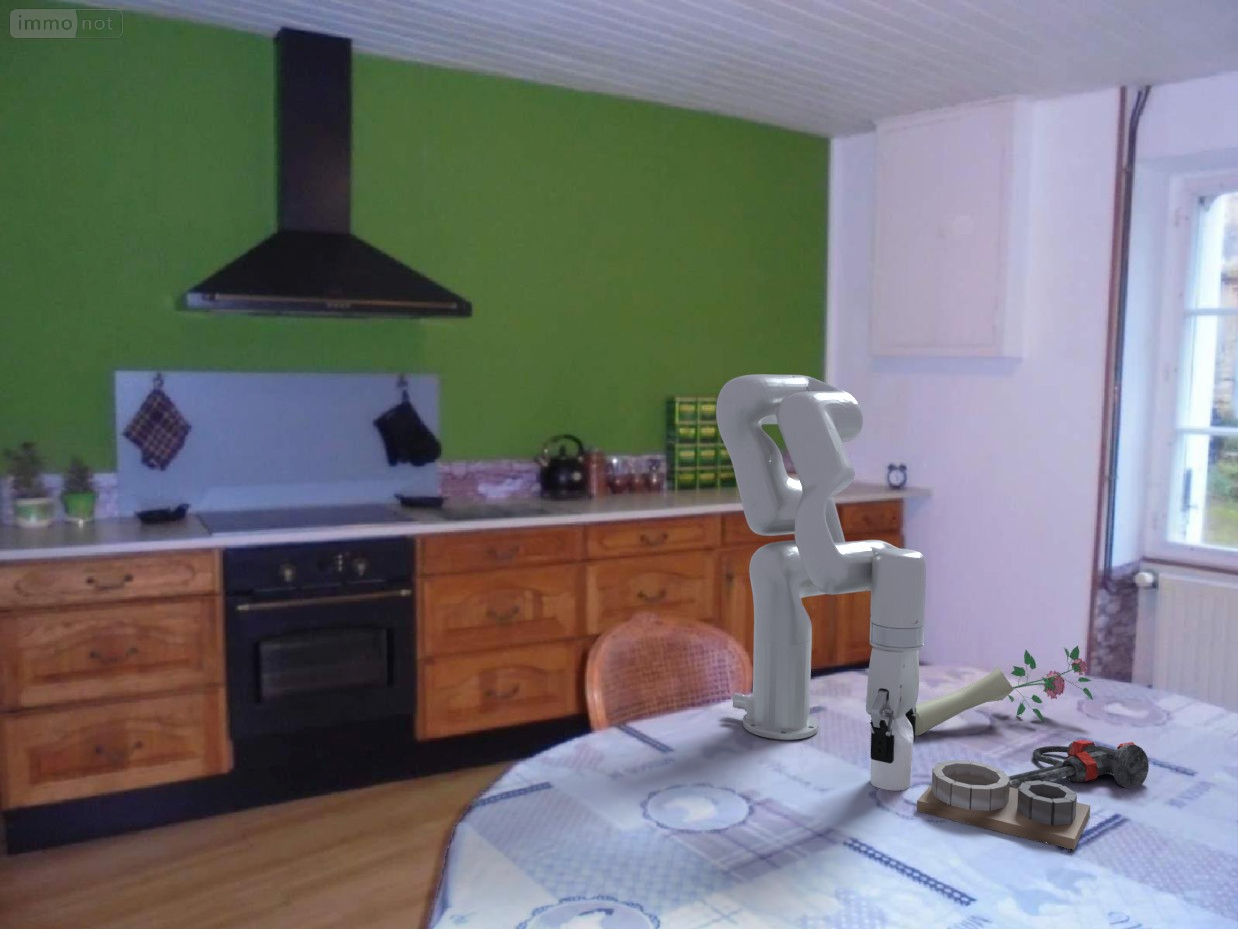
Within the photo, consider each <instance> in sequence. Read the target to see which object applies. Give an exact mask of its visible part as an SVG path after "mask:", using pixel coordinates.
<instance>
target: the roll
mask: <svg viewBox="0 0 1238 929" xmlns="http://www.w3.org/2000/svg"><path fill="white" fill-rule="evenodd" d="M883 712H886V713H892V712H888V711H883ZM882 720H885V723H886V725H888V721H889V720H887V719H882ZM892 735H894V761H893V762H892V763H885V762H881V761H876V760H872V759H871V758H870V778H869V781H870V785H872V786H873V787H875V788H876V789H877V788H878V789H881V790H886V791H897V792H900V790H901V791H904V790H907V789H909V788H911V784H912V782H911V781H912V780H911V779H912V776H911V775H912V762H913V749H914V742H913V739H914V738H913V728H912V725H911V723H910V721H909V720H908V719H907V717H906V715H905V714H904V715H903V716H902V717H900V718H899V719H896V720H895V723H894V727H893V731H892Z"/></svg>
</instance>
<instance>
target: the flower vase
mask: <svg viewBox="0 0 1238 929" xmlns="http://www.w3.org/2000/svg"><path fill="white" fill-rule="evenodd" d="M1063 650H1064V652H1065V655H1066V662H1067V664H1068V667H1067V670H1066V671H1063V672H1061V673H1060V672H1059V671H1056V670H1053V671H1052V670H1050V671H1049V673H1047V674H1046V677H1043V676H1042V677H1041V679H1036V680H1032V681H1029V682H1028V679H1029V676H1030V673H1031V671H1032V670H1034V669H1036V668H1037V664H1036V660H1035V658H1034V657H1033V656H1032V655H1031V654H1030V653H1029V651H1028V650H1027V649H1025V650H1024V655H1023V656H1024V657H1023V658H1024V659H1023V661H1024V662H1023V663H1024V664H1025V665H1026V667H1025V668H1024V667H1020V666H1014V665H1012V666H1013V667H1012V668H1013V669H1014V670H1013V671H1011V672H1010V675H1012V676H1016V677H1019V679H1018V682H1017V685H1015V686H1012V685H1011V683H1010V682H1009V680H1008V679H1007V677H1006V676H1005V674H1004V673H1003V671H1002V669H1001V668H1000V667H999V666H998V667H997V668H995V669H994V670H993V671H992V672H990V673H989V674H987V675H985V676H984V677H982V678H980V679H979V680H977V681H975V682H973V683H970V684H969V685H967V686H965V687H962V688H961V689H958V690H956V691H953V692H951V693H947V694H945V695H941V696H939V697H938V696H937V697H935V698H934V697H933V698H931V699H928V700H926V701H923V702H919V703H916V704H915V706H916V714H915V715H913V716H916V726H915V736H921V735H922V734H924V733H927V731H929V730H931V729H933V728H935V727H937V726H938V725H940V724H942V723H944V722H947V721H948V720H950V719H952V718H954V717H956V716H958V715H959V714H961V713H963V712H965V711H967V710H970V709H972V708H975V707H978V706H980V705H984V704H985V703H990V702H999V701H1003V700H1004V699H1005V698H1006V697H1007V696H1008V698H1009V700H1010V702H1011V703H1013V702H1014V701H1015V699H1014V697H1013V696H1012V695H1010V694H1011V693H1012V692H1013V691H1014V690H1016V691H1017V692H1018V693H1019V694H1020V695H1022V693H1021V692H1020V691H1019V690H1017V689H1020V688H1023V687H1030V686H1037V685H1042V686H1043V687H1044V689H1043V690H1042V692H1045V693H1046V694H1047V697H1048V698H1049V697H1050V700H1053V699H1055V700H1057V699H1058V696H1061V695H1062V694H1064V690H1065V688H1066V685H1065V684H1066V683H1065V681H1066V682H1068V683H1070V684H1071V685H1073V686H1075V687H1077V688H1079V689H1080V690H1082V691H1083V693H1084V694H1085V695H1086V696H1087V697H1088V698H1089V699H1090V700H1092V701H1094V698H1093V695H1092V693H1091V692H1090V690H1089V689H1088V688H1087V687H1084V688H1081V687H1080V686H1077V685H1075V684H1074V683H1073V682H1071V681H1069V680H1067V679H1066V678H1064V677H1062V675H1065V674H1067V673H1070V672H1071V671H1073V674H1075V673H1077V674H1078V675H1079V676H1082V677H1078V679H1077V681H1076V683H1078V682H1079V683H1086V682H1087V683H1088V682H1092V680H1091V679H1090V678H1088V677H1083V675H1084V673H1087V672H1088V668H1087V662H1086V661H1085V660H1083V658H1080V657H1079V656H1080V648H1079V645H1076V646H1075V647H1074V648H1073V649H1072V650H1071V652H1070V651H1069V649H1068V648H1066V647H1063ZM1069 659H1071V661H1070V662H1069V661H1068V660H1069ZM1027 666H1029V668H1030V669H1031V670H1029V674H1028V673H1026V671H1028V667H1027ZM1070 666H1071V669H1070ZM1022 677H1026V682H1025V683H1022V684H1019V683H1020V679H1021V678H1022ZM1041 681H1044V682H1041ZM1057 695H1058V696H1057ZM1022 698H1023V701H1022V702H1020V703H1019V706H1018V708H1017V712H1016V716H1017V715H1018V716H1020V715H1023V713H1024V712H1025V710H1026V707H1025V705H1024V703H1023V702H1024V701H1025V702H1026V703H1027V705H1028V707H1029V708H1030V709H1031V710H1032V712H1033V713H1034V714H1035V715H1036V716H1037V717H1038V718H1039V720H1041V721H1042V723H1044V722H1045V720H1044V717H1043V715H1042V713H1041V710H1039V709H1038V708H1032V707H1031V706H1030V705H1029V703H1028V702H1027V700H1026V698H1028V699H1029V697H1028V696H1025V695H1022ZM1030 699H1031V700H1032V701H1033V703H1037V704H1043V701H1042V699H1041V698H1040V697H1039V696H1038V695H1036V694H1032V696H1031V697H1030Z"/></svg>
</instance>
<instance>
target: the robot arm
mask: <svg viewBox="0 0 1238 929" xmlns="http://www.w3.org/2000/svg"><path fill="white" fill-rule="evenodd" d="M715 408H716V411H715V413H716V414H715V416H716V417H715V418H716V423H717V424H716V425H717V427H718V432H719V435H720V437H721V440H722V441H723V444H724V446H725V448H726V451H727V453H728V455H729V458H730V461H731V464H732V467H733V472H734V476H735V480H736V484H737V485H736V486H737V488H738V492H739V497H740V501H741V506H742V509H743V513H744V516H745V520H746V523H747V525H748V528H749V529H750V530H751V531H752V532H753V533H754V534H756V535H760V536H772V537H773V536H784V535H794V539H793V540H792V539H791V540H790V539H789V540H782V541H781V540H780V541H774V542H770V543H767V544H764V545H763V546H761V547H759V548H758V549H757V550H756V551H754V553H753V554H752V556H751V559H750V562H749V567H748V568H749V570H748V572H749V581H750V584H751V591H752V599H753V613H754V614H753V616H754V618H753V622H754V623H753V624H754V625H753V626H754V627H753V665H752V666H753V667H752V671H753V673H752V694H751V695H746V694H743V693H739V692H734V694H732V695H733V696H732V707H733V708H734V709H738V710H744V711H745V712H746V714H745V715H743V717H742V726H743V728H744V729H745V730H746V731H747V732H749V733H751V734H753V735H754V736H758V737H762V738H766V739H771V740H780V741H781V740H784V741H789V740H790V741H792V740H800V739H802V740H803V739H807V738H810V737H812V736H814V735H815V734H817V732H818V731H819V721H818V719H817V718H815V717H814V716H813V715H810V708H811V707H810V704H811V702H810V701H811V677H812V676H811V675H812V673H811V670H812V645H813V644H812V636H813V635H812V634H813V632H812V631H813V630H812V629H813V626H812V621H811V618H810V615H809V614H808V612H807V610H806V608H805V606H804V605H803V602H802V601H803V600H802V598H807V597H815V596H822V595H826V594H827V595H833V596H834V595H843V594H850V593H860V592H868V591H870V622H869V626H870V627H869V645H870V646H872V648H871V653H870V659H869V664H868V665H869V666H868V673H867V675H868V676H867V686H866V687H867V688H866V700H865V711H866V714H868V715H870V718H871V719H870V721H869V724H870V753H869V754H870V755H869V756H870V760H871V759H872V760H876V761H881V762H885V763H892V762H893V761H894V735H892V731H893V727H894V723H895V720H896V719H899V718H900V717H902V716H903V715H904V714H905V715H906V717H907V719H908V720H909V721H910V723H911V725H912V728H913V738H914V739H913V743H914V742H915V741H916V734H915V726H916V716H913V715H915V714H916V706H915V705H916V704H917V702H918V699H919V691H920V690H919V688H920V687H919V685H920V660H919V659H920V658H919V657H920V654H919V651H921V650H923V649H924V646H925V645H924V644H925V642H924V639H925V610H926V584H927V582H926V581H927V580H926V579H927V578H926V577H927V559H926V558H925V556H924V555H923V554H922V553H921V552H920V551H917V550H914V549H910V548H909V549H908V548H899V547H897V546H894V545H893V544H892V543H889V542H886V541H883V540H879V539H867V540H855V541H854V540H853V541H846V539H845V535H844V532H843V528H842V525H841V521H840V518H839V513H838V509H837V506H836V503H835V500H834V498H833V497H834V496H836V495H838V494H840V492H842V491H843V490H845V489H847V488H849V486H850V485H851V484H852V482H853V481H854V480H855V476H856V474H855V469H854V466H853V464H852V462H851V459H850V457H849V453H848V452H847V450H846V447H845V444H844V443H849V442H851V441H853V440H855V439H856V438H857V437H858V436H859V435H860V433H861V431H862V429H863V424H864V419H863V418H864V417H863V416H864V415H863V411H862V409H861V406H860V404H859V402H858V401H857V399H856V398H855V397H853V396H852V395H851V393H849V392H847V391H845V390H843V389H841V388H839V387H837V386H833V385H831V384H828V383H826V382H824V381H822V380H819V379H816V378H815V377H813V376H812V377H811V376H808V375H802V374H770V373H769V374H765V373H763V374H757V373H756V374H747V375H745V374H744V375H740V376H737V377H734V378H732V379H729V381H727V382H726V383H725V384H724V385H723V387H722V388H721V389H720V391H719V394H718V396H717V401H716V407H715ZM763 425H778V429H779V432H780V434H781V436H782V440H783V442H784V445H785V448H786V450H787V452H788V455H789V458H790V461H791V463H792V466H793V468H794V470H795V473H796V476H797V477H795V478H793V477H790V476H789V475H788V472H787V470H786V467H785V464H784V459H783V455H782V453H781V451H780V449H779V447H778V445H777V444H776V442H775V441H774V439H773V438H772V437H771V436H770V435H768V433H766V431H765V430H764V429H763ZM883 711H888V712H892V713H886V712H883ZM882 719H887V720H889V721H888V725H886V723H885V720H882Z"/></svg>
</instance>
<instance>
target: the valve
mask: <svg viewBox="0 0 1238 929" xmlns="http://www.w3.org/2000/svg"><path fill="white" fill-rule="evenodd" d="M1046 753H1047V754H1049V753H1066V754H1067V756H1065V759H1064V760H1063V761H1061V760H1059V759H1056V758H1053V757H1049V756H1046V755H1043V754H1046ZM1032 757H1033V758H1034V759H1035V760H1036V761H1038V762H1042V763H1045V764H1048V765H1051V766H1047V767H1043V768H1039V769H1038V768H1037V769H1035V770H1030V771H1025V772H1022V773H1017V774H1013V775H1007V776H1008V777H1009V778H1010V787H1011V788H1016V789H1018V788H1019V787H1020V785H1021V783H1022V782H1023V783H1024V782H1026V781H1039V780H1040V781H1042V782H1043V781H1047V782H1050V781H1053V780H1058V779H1061V778H1066V779H1067V780H1069V781H1071V782H1078V783H1085V782H1088V780H1089V781H1091V780H1095V779H1098V776H1101V775H1106V774H1112V775H1113V778H1114V780H1115V782H1116V783H1117V785H1119V786H1120V787H1123V788H1125V789H1130V788H1135V787H1140V786H1142V785H1143V784H1144V782H1145V781H1146V779H1147V776H1148V773H1149V758H1148V756H1147V753H1146V752H1145V750H1144V749H1143V748H1142V747H1141V746H1139V745H1136V744H1135V743H1134V742H1133V741H1132V742H1124V743H1119V744H1118V745H1117V748H1116V749H1114V748H1111V747H1106V746H1102V745H1095V742H1093V741H1089V740H1086V739H1080V740H1073V741H1072V742H1070V743H1069V744H1068V746H1066V745H1049V746H1042V747H1038V748H1036V749H1034V750H1033V751H1032Z"/></svg>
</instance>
